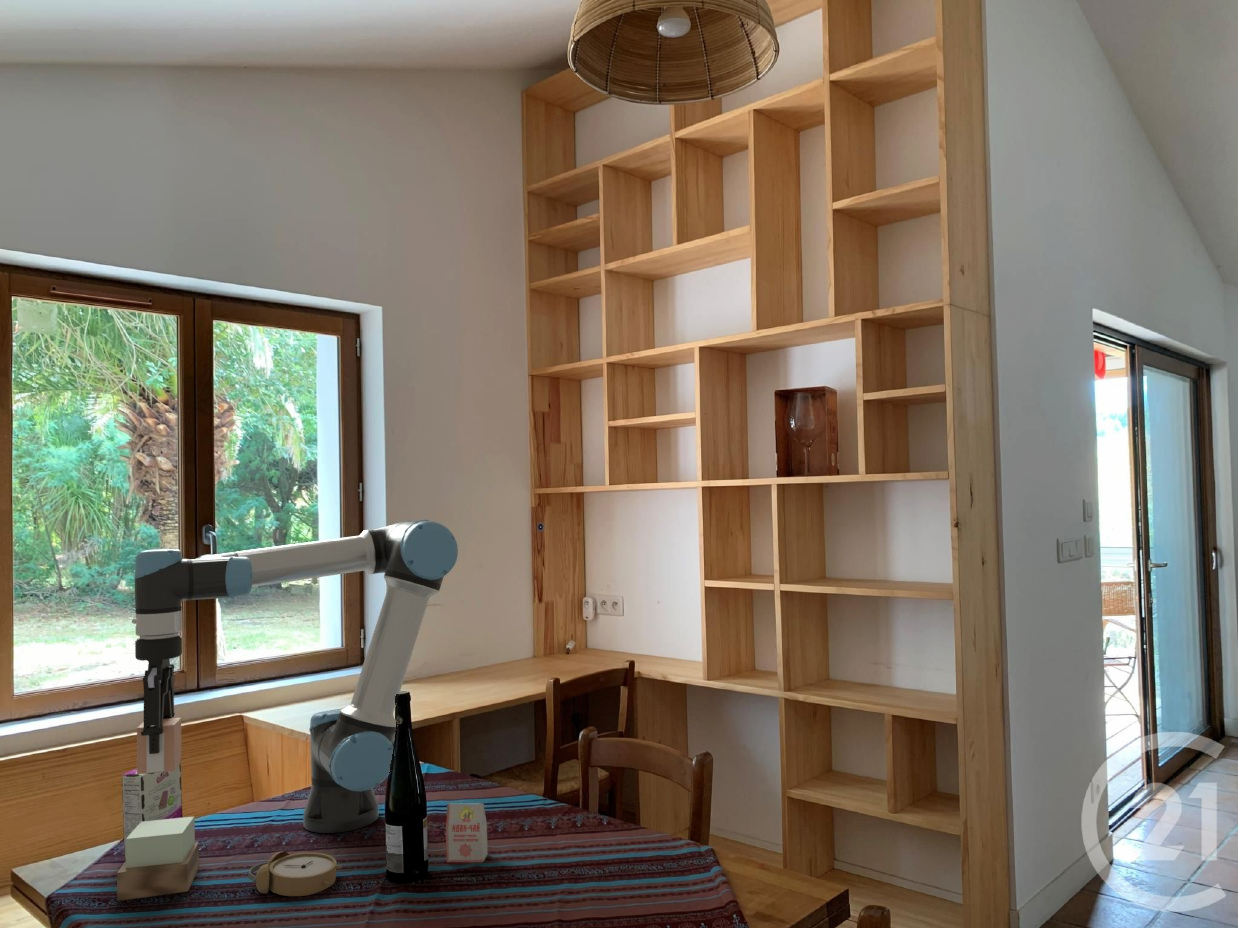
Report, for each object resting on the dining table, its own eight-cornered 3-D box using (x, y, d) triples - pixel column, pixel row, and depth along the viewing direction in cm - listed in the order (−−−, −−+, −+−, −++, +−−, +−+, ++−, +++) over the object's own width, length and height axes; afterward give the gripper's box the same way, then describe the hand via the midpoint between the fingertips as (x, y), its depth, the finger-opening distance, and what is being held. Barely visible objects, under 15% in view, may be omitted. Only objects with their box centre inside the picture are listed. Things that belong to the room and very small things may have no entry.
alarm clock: (326, 879, 155) (239, 866, 155) (321, 909, 155) (234, 895, 155) (346, 853, 166) (265, 841, 167) (342, 881, 166) (261, 868, 166)
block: (181, 761, 168) (181, 717, 168) (174, 770, 162) (174, 724, 162) (145, 764, 166) (145, 720, 166) (136, 774, 160) (136, 727, 161)
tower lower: (199, 869, 170) (198, 841, 170) (187, 893, 159) (187, 863, 159) (133, 877, 167) (133, 849, 167) (117, 902, 156) (117, 872, 156)
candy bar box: (162, 839, 185) (160, 756, 186) (184, 840, 184) (182, 757, 185) (121, 860, 174) (120, 773, 175) (144, 862, 173) (143, 774, 174)
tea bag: (452, 854, 172) (450, 800, 172) (487, 854, 171) (486, 799, 171) (446, 862, 168) (445, 806, 168) (482, 862, 167) (481, 806, 168)
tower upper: (194, 843, 169) (194, 816, 169) (182, 862, 160) (182, 832, 160) (141, 849, 167) (141, 821, 167) (126, 868, 158) (125, 838, 158)
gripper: (147, 630, 173) (148, 754, 172) (122, 644, 155) (122, 783, 154) (191, 627, 175) (192, 750, 174) (170, 641, 157) (171, 778, 156)
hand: (159, 765), depth 164 cm, fingers closed on block, 6 cm apart
